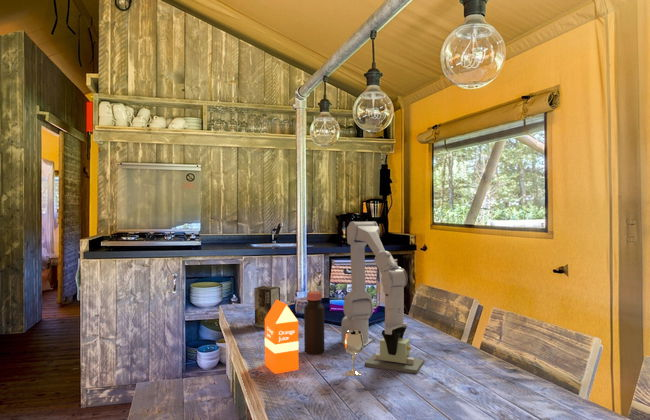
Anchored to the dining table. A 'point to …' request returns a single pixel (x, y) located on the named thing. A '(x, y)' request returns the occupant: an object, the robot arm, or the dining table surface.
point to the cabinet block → (401, 352)
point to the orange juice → (281, 339)
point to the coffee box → (264, 302)
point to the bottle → (314, 324)
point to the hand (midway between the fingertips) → (394, 351)
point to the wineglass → (353, 347)
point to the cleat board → (395, 364)
